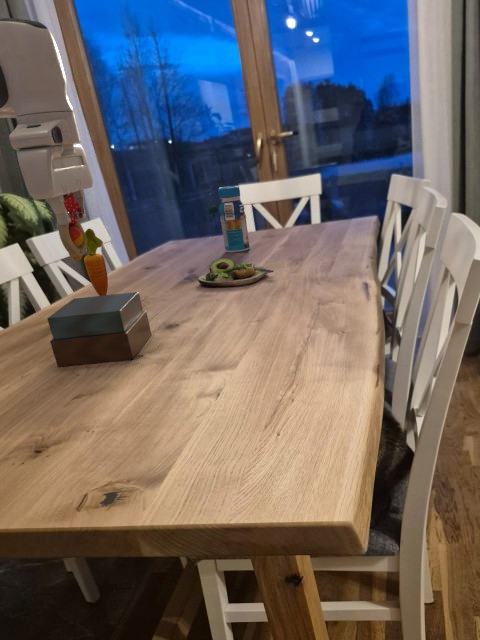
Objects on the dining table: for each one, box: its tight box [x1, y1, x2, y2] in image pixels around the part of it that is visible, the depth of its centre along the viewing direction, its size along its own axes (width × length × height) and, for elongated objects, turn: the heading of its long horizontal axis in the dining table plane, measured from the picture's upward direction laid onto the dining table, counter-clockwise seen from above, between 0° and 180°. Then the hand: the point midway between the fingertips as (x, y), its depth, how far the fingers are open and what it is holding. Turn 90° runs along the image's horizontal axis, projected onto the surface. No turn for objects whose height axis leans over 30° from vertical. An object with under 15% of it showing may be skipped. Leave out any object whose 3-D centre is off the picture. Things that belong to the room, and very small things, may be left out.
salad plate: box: [197, 257, 274, 288], centre depth 153 cm, size 19×18×5 cm
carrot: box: [83, 248, 109, 296], centre depth 146 cm, size 5×5×15 cm
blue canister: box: [217, 185, 251, 254], centre depth 188 cm, size 8×8×20 cm
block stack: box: [47, 291, 152, 368], centre depth 109 cm, size 14×14×9 cm
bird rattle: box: [57, 193, 104, 262], centre depth 101 cm, size 6×11×9 cm
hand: (73, 221), depth 101 cm, fingers closed on bird rattle, 6 cm apart
